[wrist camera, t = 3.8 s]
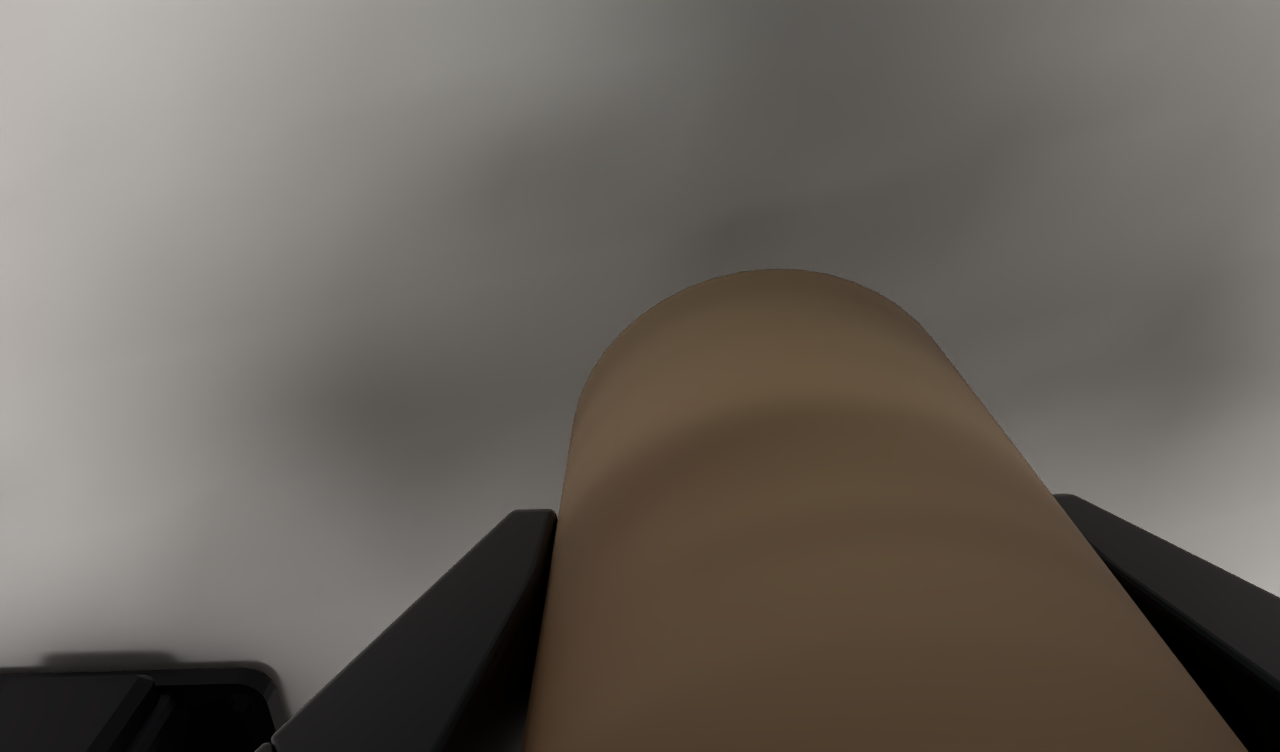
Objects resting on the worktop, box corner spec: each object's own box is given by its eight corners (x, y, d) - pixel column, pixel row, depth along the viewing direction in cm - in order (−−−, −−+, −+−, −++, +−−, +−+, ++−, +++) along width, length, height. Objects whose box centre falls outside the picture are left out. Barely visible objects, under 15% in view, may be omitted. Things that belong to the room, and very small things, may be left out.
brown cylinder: (940, 604, 11) (1245, 1267, 5) (584, 613, 11) (519, 1273, 5) (988, 261, 9) (1545, 744, 3) (555, 276, 9) (412, 772, 3)
